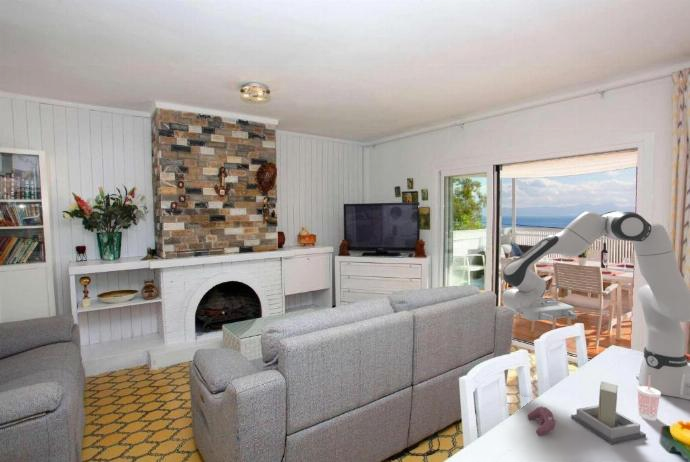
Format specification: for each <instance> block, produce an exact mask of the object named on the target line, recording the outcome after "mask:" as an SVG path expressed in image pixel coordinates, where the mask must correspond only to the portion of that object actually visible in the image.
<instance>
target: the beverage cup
mask: <svg viewBox="0 0 690 462" xmlns="http://www.w3.org/2000/svg"><path fill="white" fill-rule="evenodd" d="M636 391H637V405H638V408H637V409H638V415H639V417H641V418H642V419H645V420H648V421H656V420H657V417H658V411H659V403H660V397H661V396H662V394H661V392H660V391H658V390H657V389H654V388H652V387H650V375H649V378H648V386H641V385H638V386H636Z"/></svg>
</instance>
